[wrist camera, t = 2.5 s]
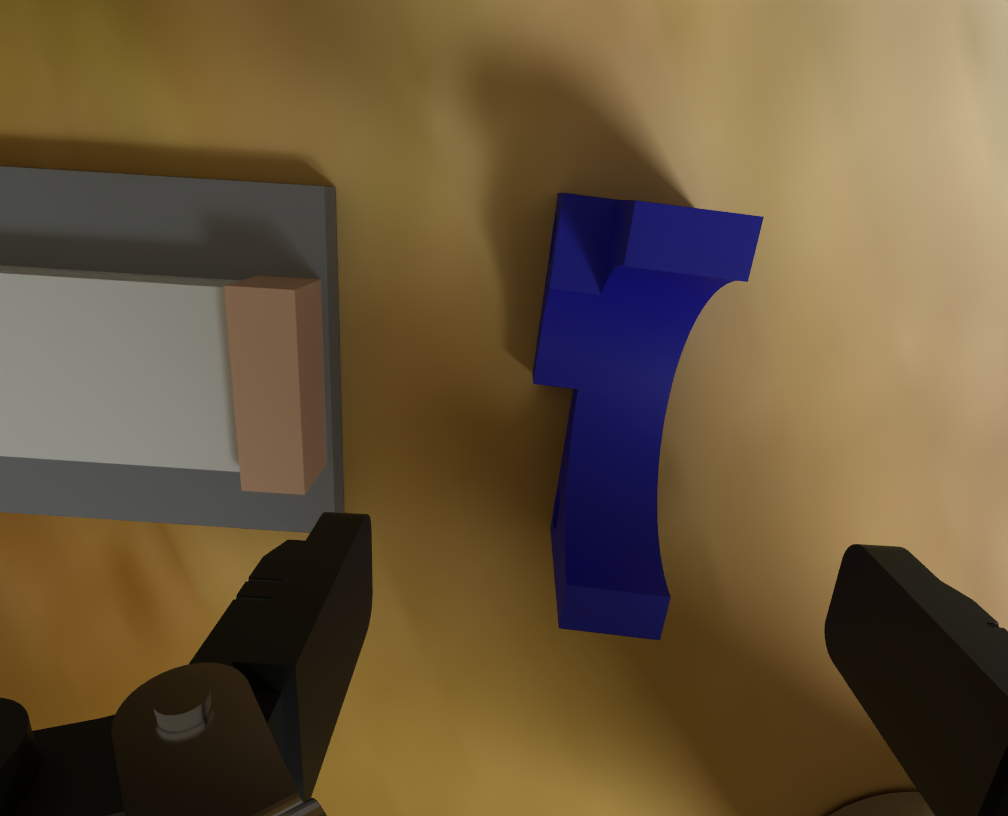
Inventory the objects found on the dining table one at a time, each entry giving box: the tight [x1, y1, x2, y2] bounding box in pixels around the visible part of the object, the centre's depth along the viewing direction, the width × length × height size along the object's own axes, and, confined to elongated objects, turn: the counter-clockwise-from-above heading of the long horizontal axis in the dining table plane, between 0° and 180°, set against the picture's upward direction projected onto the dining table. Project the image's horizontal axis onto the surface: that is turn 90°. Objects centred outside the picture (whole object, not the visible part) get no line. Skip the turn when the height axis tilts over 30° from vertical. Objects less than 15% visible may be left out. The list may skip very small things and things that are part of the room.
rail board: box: [0, 166, 344, 533], centre depth 20 cm, size 18×12×4 cm, turn 87°
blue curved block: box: [533, 193, 763, 640], centre depth 19 cm, size 12×4×6 cm, turn 173°
